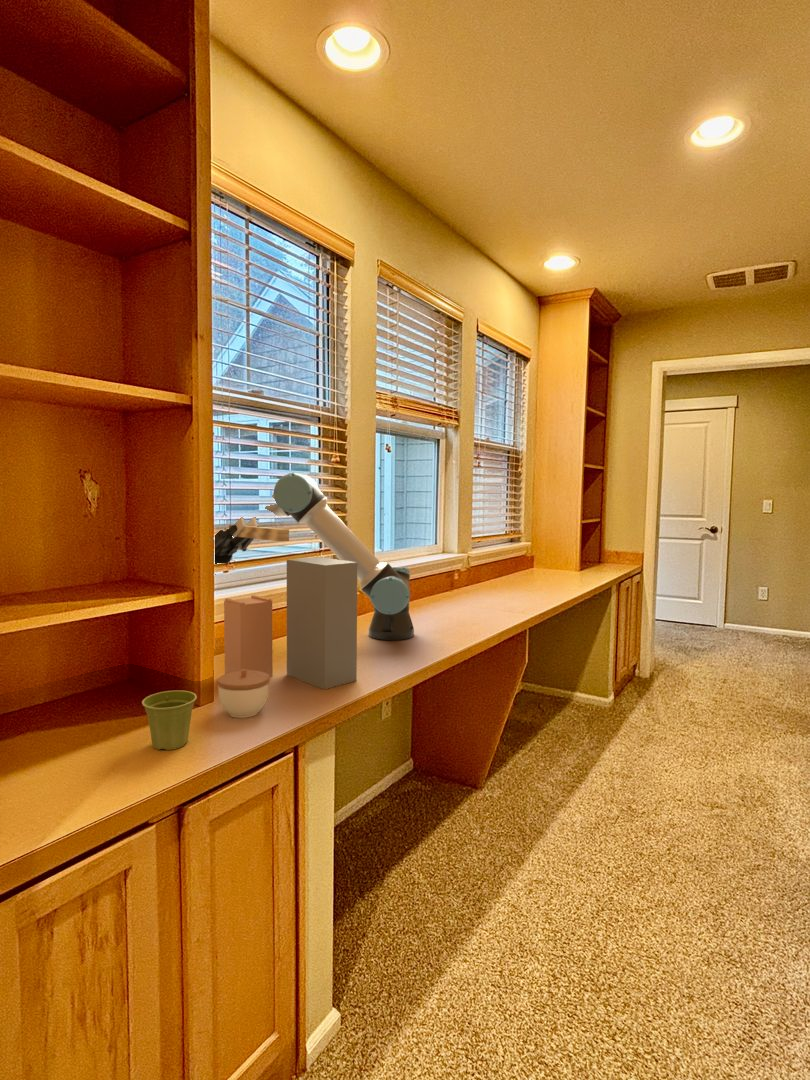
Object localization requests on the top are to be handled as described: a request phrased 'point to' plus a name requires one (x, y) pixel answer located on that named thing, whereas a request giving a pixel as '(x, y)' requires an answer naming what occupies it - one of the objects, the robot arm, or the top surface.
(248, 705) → the lidded jar
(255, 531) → the birch batten
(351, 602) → the slate riser
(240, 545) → the robot arm
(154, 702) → the plant pot
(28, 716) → the top surface
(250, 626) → the tall salmon pillar
